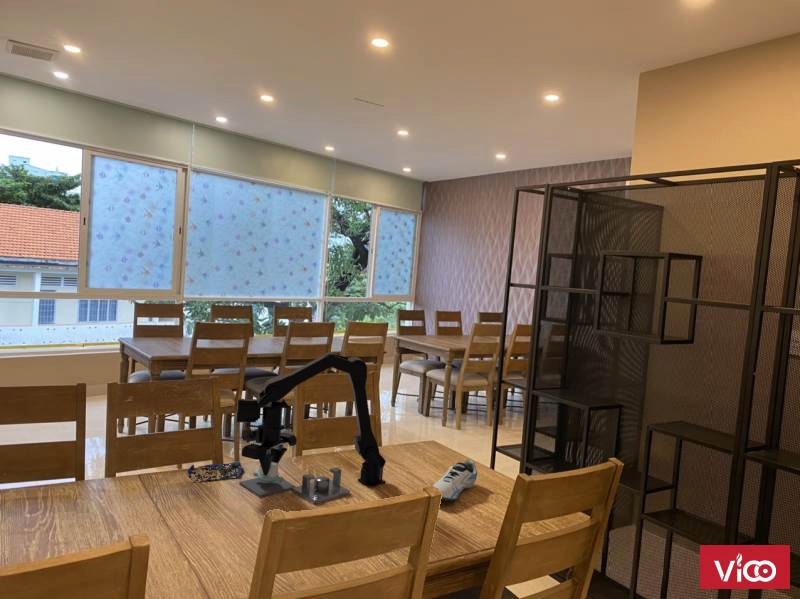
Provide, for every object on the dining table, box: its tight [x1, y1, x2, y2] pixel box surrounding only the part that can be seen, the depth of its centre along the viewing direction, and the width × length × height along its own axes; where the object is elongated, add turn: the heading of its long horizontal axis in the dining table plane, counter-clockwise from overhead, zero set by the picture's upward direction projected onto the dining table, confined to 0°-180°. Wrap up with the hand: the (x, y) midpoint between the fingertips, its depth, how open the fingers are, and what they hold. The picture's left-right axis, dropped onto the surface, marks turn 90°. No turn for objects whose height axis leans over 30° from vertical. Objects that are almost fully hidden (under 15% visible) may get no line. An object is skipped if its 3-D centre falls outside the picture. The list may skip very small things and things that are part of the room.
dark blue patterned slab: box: [187, 460, 245, 484], centre depth 175 cm, size 16×12×2 cm
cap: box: [253, 462, 284, 483], centre depth 168 cm, size 10×6×5 cm, turn 66°
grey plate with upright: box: [291, 467, 351, 505], centre depth 166 cm, size 13×11×6 cm
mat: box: [239, 477, 297, 498], centre depth 168 cm, size 12×12×1 cm
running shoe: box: [432, 458, 478, 502], centre depth 173 cm, size 9×25×9 cm, turn 150°
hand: (268, 473), depth 168 cm, fingers closed on cap, 2 cm apart
